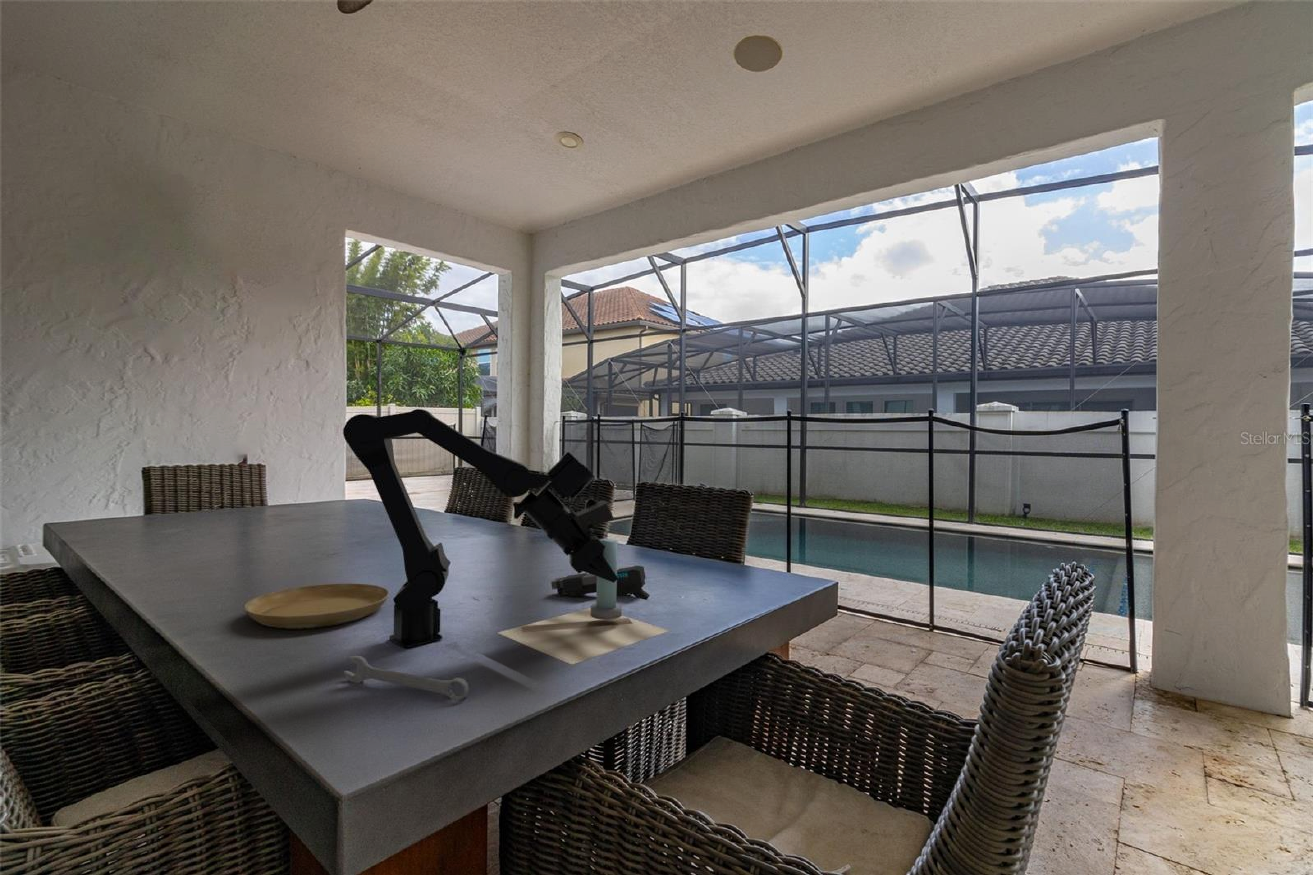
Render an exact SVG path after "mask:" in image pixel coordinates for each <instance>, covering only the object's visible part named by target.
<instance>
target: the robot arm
mask: <svg viewBox="0 0 1313 875" xmlns="http://www.w3.org/2000/svg"><path fill="white" fill-rule="evenodd" d="M342 434H343V438H344V440H345V442H346V444H348V445H347V446H349V449H351V451H352V453H353V454H354V455H355V456H356V458H357V459H358V460H359V461H360V462H361V464H362V465H363V466H364V467H365V469H366V470H367V471H368V472H369V474H370V477H371V479H372V482H373V483H374V486H375V488H376V491H377V493H378V496H379V497H380V500H381V502H382V505H383V507H384V509H385V511H386V513H387V515H388V516H387V517H388V518H389V521H390V523H391V525H392V528H393V530H394V532H395V535H396V537H397V539H398V541H399V544H400V546H401V549H402V554H403V557H402V558H403V566H404V572H405V575H406V582H404V583H403V584H402V586H401V587H400V589H399V590H398V592H397V593H396V594H395V596H394V597H393V634H392V635H389V636H388V637H389V638H388V639H389V640H390V641H392V642H393V643H396V644H398V645H399V646H401V647H403V648H404V649H407V648H412V647H415V646H420V645H424V644H428V643H432V642H436V641H440V640H443V635H441V634H439V633H440V632H441V608H440V607H439V600H436V599H434V597H436V596H438V595H439V594H441V591H442V590H443V589H444V586H445V584H446V582H447V579H448V577H449V573H450V571H449V567H450V565H451V561H450V560H449V559H448V558H447V556H446V554H445V551H444V546H443V543H442V542H439V543H437V544H436V545H433V544H434V543H432V542H431V540H430V539H429V538H428V537H427V536H426V533H425V530H424V528H423V526H422V523H421V521H420V518H419V517H418V514H417V512H416V509H415V507H414V505H413V503H412V500H411V498H410V495H409V493H408V491H407V488H406V486H405V483H404V481H403V478H402V477H401V473H400V472H399V469H398V467H397V465H396V462H395V453H394V444H393V441H392V439H395V438H399V437H405V436H408V435H409V436H410V435H413V434H419V435H421V436H422V437H424V438H426V439H427V440H428V441H430V442H432V443H434V444H435V445H437V446H439V447H440V448H442V449H444V450H445V451H447V452H448V453H450V454H451V455H454V456H455V457H457V458H458V459H460V460H461V461H463V462H465V463H467V464H468V465H469V466H472V467H473V468H475V469H476V470H478V472H480V473H481V474H482V475H483V476H484V478H486V479H487V480H488V481H490V483H492V484H493V485H494V486H495V487H496V488H497V489H498V490H500V492H502V493H503V494H504V495H506V496H508V497H510V498H519V497H523V495H525V494H527V493H528V492H529V490H530V489H535V488H541V487H542V488H541V489H539V491H537V492H536V493H535V492H534V491H532V490H531V491H530V492H529V493H528V494H527V495H526V496H525V497H524V498H523V499H521V501H513V502H512V507H513V510H514V511H513V518H514V519H516V520H517V519H519V518H520V517H521V516H522V515H523V514H524V513H525V514H526V515H527V516H528V517H529V518H530V519H531V520H532V521H533V522H534V523H535V524H536V525H537V526H538V527H539V528H540V529H541V530H542V531H543V532H544V533H545V534H546V536H547V538H549V539H550V540H552V541H553V542H554V543H555V544H557V546H558V547H559V548H560V549H561V550H562V552H563V553H564V554H565V555H566V556H568V557H569V564H570V567H571V568H572V569H573V570H574V571H575V572H577V574H582V572H584V573H587V574H592V575H595V576H598V577H600V578H603V579H606V580H608V581H611V582H615V581H616V580H617V579H618V577H617V576H616V574H615V573H614V571H613V570H612V568H611V567H610V565H609V564H608V562H607V561H606V559H605V558H604V556H603V551H604V549H605V547H606V546H605V545H604V544H603V543H602V542H601V541H600V540H599V536H598V535H597V534H595V535H592V534H594V533H595V531H594V530H593V528H596V527H598V526H599V525H602V524H603V523H606V522H607V523H608V522H610V521H612V520H614V515H613V513H612V511H611V509H610V506H609V504H608V502H607V501H606V500H599V501H597V500H595V499H594V498H593V497H592V498H589V499H587V500H585V502H584V508H582V509H581V510H579V511H578V512H575V511H574V510H573V509H572V508H568V507H567V506H566V505H565V504H564V503H563V502H562V501H561V500H560V499H559V498H558V497H557V496H556V495H555V494H554V493H553V491H552V490H550V488H552V489H553V490H554V491H555V492H556V494H558V495H559V496H560V497H561V498H562V499H563V500H566V499H570V498H571V499H572V500H573V499H575V498H576V497H577V496H578V495H579V494H580V493H581V492H582V491H583V490H584V489H585V488H586V487H587V486H588V485H589V484H590V483H591V482H592V481H593V480H594V479H595V478H596V477H595V475H594V474H593V473H592V472H591V470H589V469H588V468H587V467H586V466H585V465H584V464H583V463H581V462H580V461H579V460H578V459H577V458H576V457H575V456H573V455H572V453H570V452H569V451H566V452H565V453H564V454H563V455H562V456H561V457H560V459H559V460H558V461H557V462H556V464H554V465H553V466H552V467H551V468H550V469H549V470H547V472H545V471H543V470H542V469H541V470H540V471H538V470H533V469H529V468H528V467H527V466H526V465H525V464H523V463H522V462H519V461H517V460H514V459H512V458H509V457H508V456H504V455H501V454H499V453H496V452H494V451H491V450H489V449H487V448H486V447H484V446H482V445H481V444H480V443H477V442H476V441H474V440H472V438H469V437H468V436H466V435H465V434H464V433H461V432H460V431H459V430H457V429H455V428H453V427H451V426H450V425H448V424H447V423H445V422H443V421H442V420H441V419H439V418H437V417H435V416H434V415H433V414H432V413H431V412H430V411H428V410H425V409H421V408H415V409H413V410H412V411H411V410H410V411H407V412H400V413H394V414H388V415H383V416H378V415H373V414H366V413H361V414H360V413H358V414H356V415H353V416H352V417H350V418H349V419H348V420H347V421H346V423H345V424H344V427H343V430H342Z"/></svg>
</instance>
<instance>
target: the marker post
mask: <svg viewBox="0 0 1313 875" xmlns="http://www.w3.org/2000/svg"><path fill="white" fill-rule="evenodd" d="M598 539H599V538H598ZM599 540H600V541H601V542H602V543H603V544H604V545H605V546H606V547H605V549H604V551H603V556H604V558H605V559H606V561H607V562H608V564H609V565H610V567H611V568H612V570H613V571H614V573H615V574H616V576H617V570H618V539H616V538H600V539H599ZM616 590H617V580H616V581H615V582H611V581H608V580H606V579H603V578H600V577H598V576H597V592H596V596H595V600H596V602H595V603H593V604H591V606H590V608H591V617H593V618H596V619H603V620H609V619H616V618H619V617H621V615H622V611H623V610H622V609H623V606H622V604H619V603H617V596H616ZM622 616H623V615H622Z"/></svg>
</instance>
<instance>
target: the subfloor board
mask: <svg viewBox="0 0 1313 875" xmlns="http://www.w3.org/2000/svg"><path fill="white" fill-rule="evenodd" d="M668 632H671V630H669V629H667V628H663V627H660V626H657V625H654V624H650V623H647V622H644V621H640V620H637V619H636V618H631V617H628V616H625V615H621V617H619V618H616V619H609V620H603V619H596V618H593V617H591V607H588V608H585V609H582V610H578V611H574V612H571V613H570V612H569V613H567V614H563V615H558V616H555V617H552V618H547V619H544V620H543V619H542V620H540V621H536V622H532V623H528V624H525V625H521V626H517V627H514V628H513V627H512V628H510V629H505V630H502V631H499V632H497V634H498V635H500V636H503V637H505V638H508V639H510V640H513V641H515V642H518V643H520V644H522V645H525V646H527V647H528V648H531V649H534V650H536V651H539V652H541V653H543V654H546V655H548V656H551V657H552V658H554V659H556V660H558V661H559V660H560V661H562V662H564V663H566V664H569V665H570V666H573V665H576V664H578V663H581V662H584V661H587V660H591V659H592V658H596V657H599V656H602V655H605V654H607V653H610V652H613V651H616V650H619V649H621V648H622V649H623V648H625V647H627V646H631V645H633V644H636V643H640V642H642V641H646V640H648V639H651V638H653V637H657V636H659V635H663V634H666V633H668Z"/></svg>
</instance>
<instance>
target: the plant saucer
mask: <svg viewBox="0 0 1313 875" xmlns="http://www.w3.org/2000/svg"><path fill="white" fill-rule="evenodd" d="M389 596H390V590H388V589H387V588H385V587H383V586H380V585H377V584H376V585H375V584H369V583H352V582H351V583H349V582H348V583H344V582H342V583H324V584H314V585H305V586H298V587H297V586H296V587H293V588H286V589H280V590H277V591H273V592H269V593H265V594H262V595H259V596H257V597H255V598H252V599H250V600H249V601H248V602H246V604H245V605H244V610H245V612H246V613H247V615H248V616H249V617H250V618H251V619H253V620H254V621H255V622H257V623H259V624H261V625H264V626H265V627H266V626H267V627H269V628H273V627H275V628H276V629H282V628H283V629H284V628H285V630H301V629H302V630H303V628H306V629H316V628H315V627H318V628H325V626H326V627H330V626H337V625H342V623H343V624H346V623H350V622H353V621H357V620H360V619H363V618H365V617H368V616H371V615H372V614H373V613H375V612H377V610H378V609H381V607H382V606H383V605H384V604H385V603H386V601H387V600H388V597H389ZM275 628H274V629H275Z"/></svg>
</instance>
